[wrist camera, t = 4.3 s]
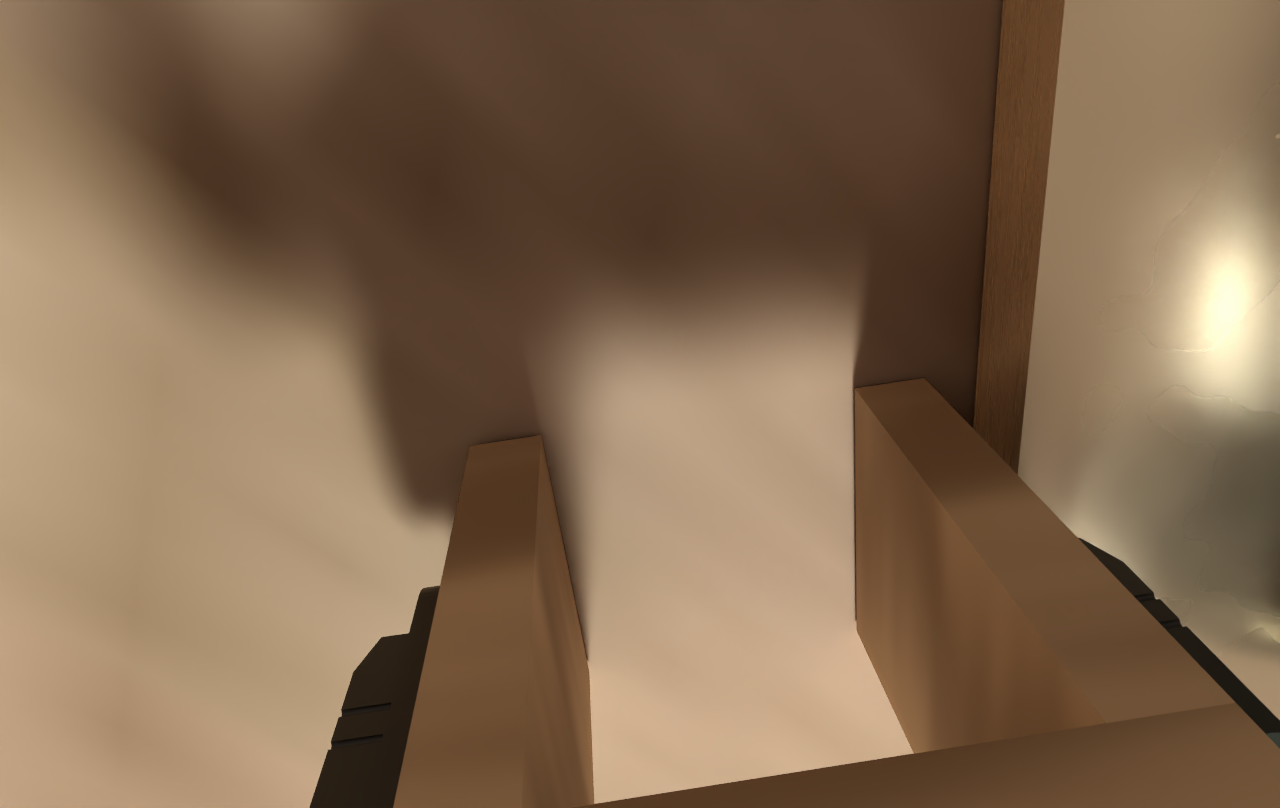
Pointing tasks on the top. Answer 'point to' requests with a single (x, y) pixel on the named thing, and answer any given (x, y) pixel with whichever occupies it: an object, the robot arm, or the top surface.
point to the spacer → (890, 631)
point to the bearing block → (1145, 298)
